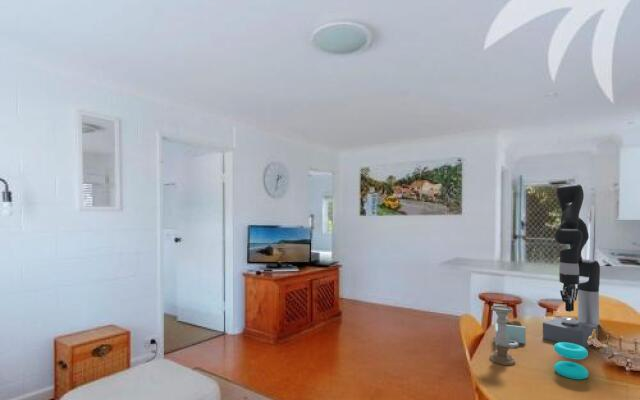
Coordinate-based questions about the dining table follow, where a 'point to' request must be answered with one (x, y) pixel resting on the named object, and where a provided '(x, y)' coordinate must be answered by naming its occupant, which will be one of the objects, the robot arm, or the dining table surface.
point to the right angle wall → (514, 335)
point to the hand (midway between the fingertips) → (569, 310)
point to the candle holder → (502, 337)
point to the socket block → (568, 332)
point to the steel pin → (569, 321)
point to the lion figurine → (513, 322)
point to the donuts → (569, 367)
